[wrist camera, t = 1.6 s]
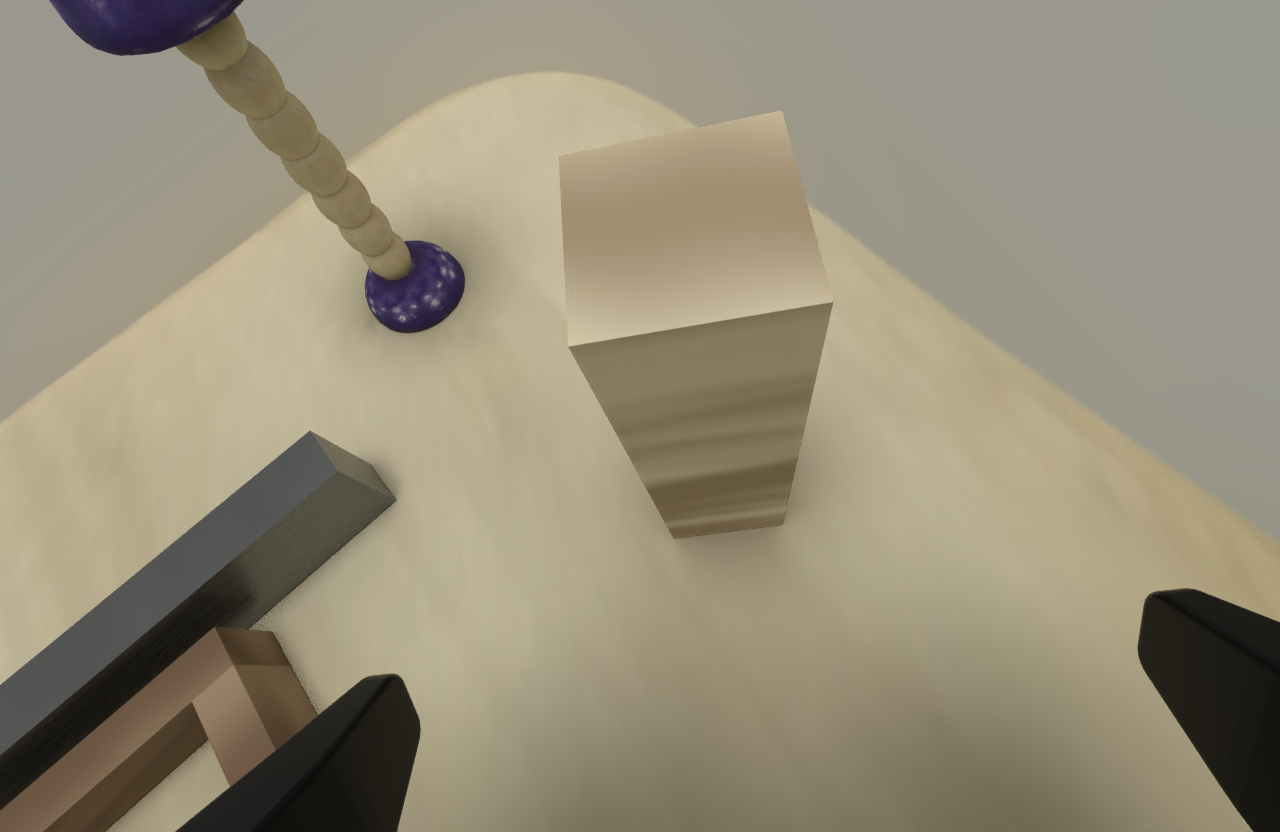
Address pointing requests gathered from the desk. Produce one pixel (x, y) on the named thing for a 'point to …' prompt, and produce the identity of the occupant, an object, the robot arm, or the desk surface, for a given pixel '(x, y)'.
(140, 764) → the collar
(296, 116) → the toy lamp
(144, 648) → the rail
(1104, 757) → the desk surface
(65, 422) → the desk surface
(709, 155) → the wooden square post
